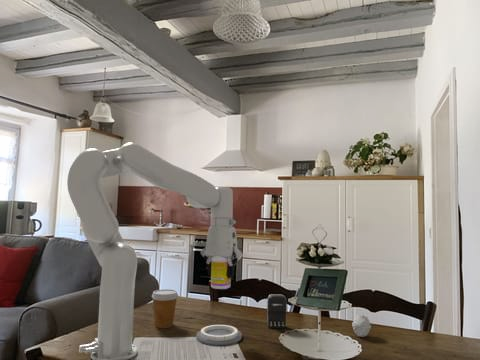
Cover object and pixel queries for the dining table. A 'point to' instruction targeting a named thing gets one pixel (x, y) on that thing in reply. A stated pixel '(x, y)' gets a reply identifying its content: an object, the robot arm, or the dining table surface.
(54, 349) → the dining table surface
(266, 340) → the dining table surface
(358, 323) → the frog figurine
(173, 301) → the disposable coffee cup
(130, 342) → the robot arm
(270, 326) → the battery
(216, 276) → the supplement bottle
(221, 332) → the round holder
